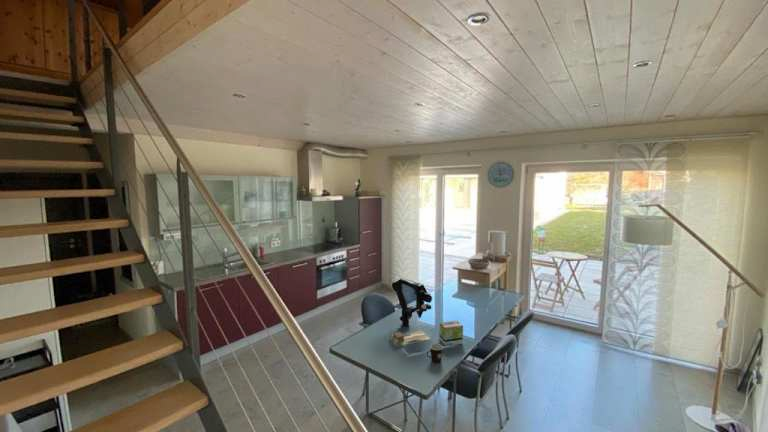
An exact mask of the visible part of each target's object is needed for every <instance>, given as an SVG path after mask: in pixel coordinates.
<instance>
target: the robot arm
mask: <svg viewBox="0 0 768 432" xmlns="http://www.w3.org/2000/svg"><path fill="white" fill-rule="evenodd" d="M403 285H404V286H407V287H409V288H411V289H413V291H414V292H413V293H414V294H415V307H414V306H413V305H412V306H409V307H408V305H407V302H406V298H405V296H404V294H403V293H404V292H403ZM391 287H392V290H393V291H394V293H396V295H397V299H398V301H399V304H400V307H401V316H400V317H399V321H401V324H400V327H402V328H404V327H405V328H407V327H410V320H411V319H412V317H413V313H416V314H417V317H418V318H419V319H421V318H422V315H423V313H425V312H427V310H432V305H431V304H430V303H431V302H432V301H433V296H432V295H431V293H428V291H427V288H426V287H425V285H424V283H421V282H414V281H412V280H409V279H408V278H406V277H401V278H399V279H398V280H397V281H393V282H392V284H391Z"/></svg>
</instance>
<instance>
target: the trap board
mask: <svg viewBox="0 0 768 432" xmlns="http://www.w3.org/2000/svg"><path fill="white" fill-rule="evenodd" d="M403 335H404V342H401V343H399V341H398V340H397V339H396V338H395V337H394V336H393V334H392V333H391V332H390V333H389V340H390V341H391V343H392V344H393V345H394V346H395V347H396V348H397V349H400V348H403V346H406V345H410V344H414V343H419V342H423V341H428V340H431V338H430V337H429V336H428V335H427V334H426V333H425V332H424V331H423V330H418V331H414V332H407V333H404V334H403ZM406 335H407V336H406ZM412 341H414V342H412Z"/></svg>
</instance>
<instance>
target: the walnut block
mask: <svg viewBox="0 0 768 432" xmlns="http://www.w3.org/2000/svg"><path fill="white" fill-rule="evenodd" d="M392 335H393V336H394V337H395V338H396V339H397V340H398V341H399V343H401V342H404V337H405V335H404V334H403V333H402V332H400V331H399V332H395V333H393V334H392Z"/></svg>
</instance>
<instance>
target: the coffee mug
mask: <svg viewBox="0 0 768 432" xmlns="http://www.w3.org/2000/svg"><path fill="white" fill-rule="evenodd" d="M429 348H430V349H429V350H428V351H427V352H426V356H427V357H429V359H431V362H432V363H434V364H440V363H442V357H443V356H442V355H443V349H444V346H443V345H442V344H440V343H432V344H431V345H430V346H429ZM429 353H430V355H428V354H429Z"/></svg>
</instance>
